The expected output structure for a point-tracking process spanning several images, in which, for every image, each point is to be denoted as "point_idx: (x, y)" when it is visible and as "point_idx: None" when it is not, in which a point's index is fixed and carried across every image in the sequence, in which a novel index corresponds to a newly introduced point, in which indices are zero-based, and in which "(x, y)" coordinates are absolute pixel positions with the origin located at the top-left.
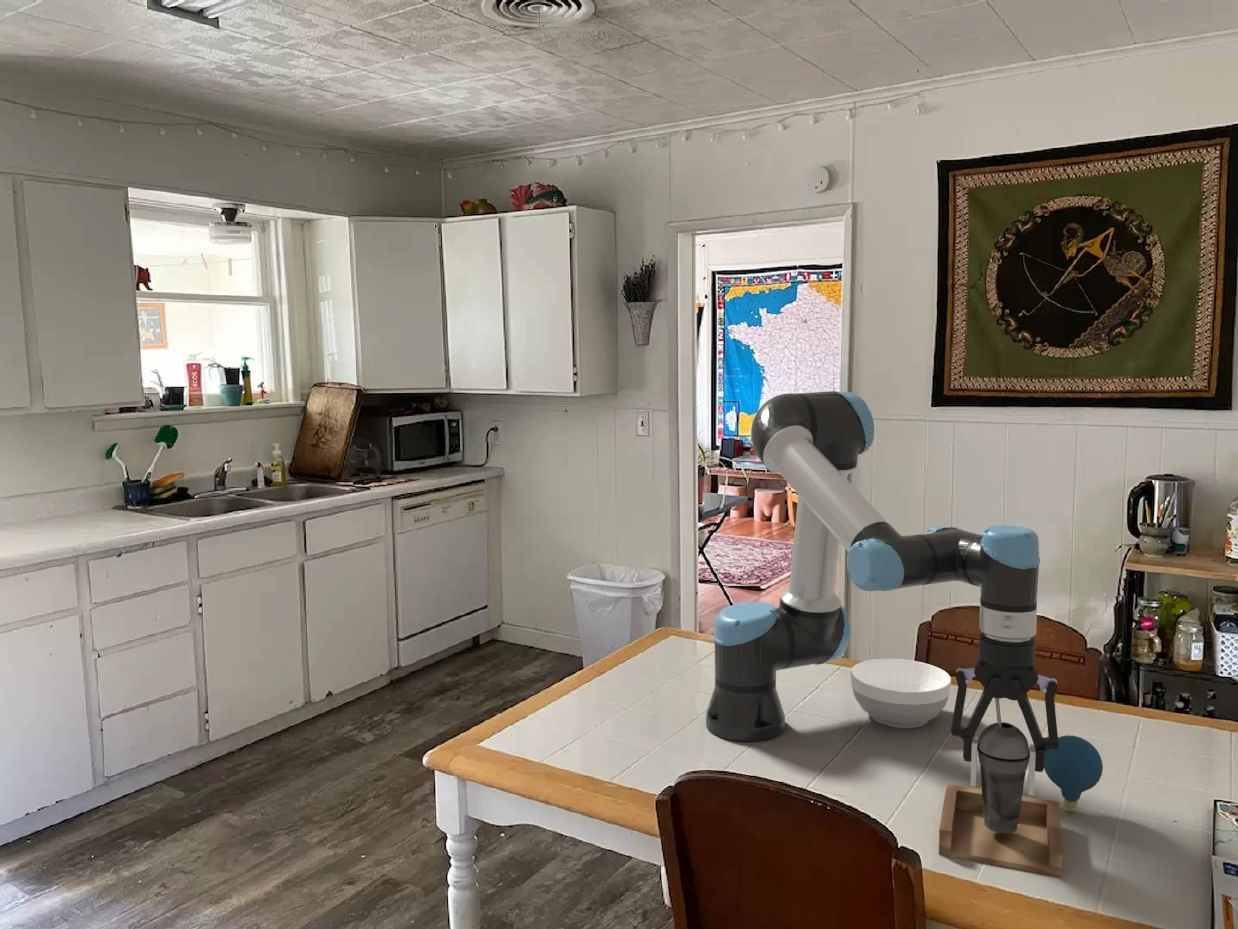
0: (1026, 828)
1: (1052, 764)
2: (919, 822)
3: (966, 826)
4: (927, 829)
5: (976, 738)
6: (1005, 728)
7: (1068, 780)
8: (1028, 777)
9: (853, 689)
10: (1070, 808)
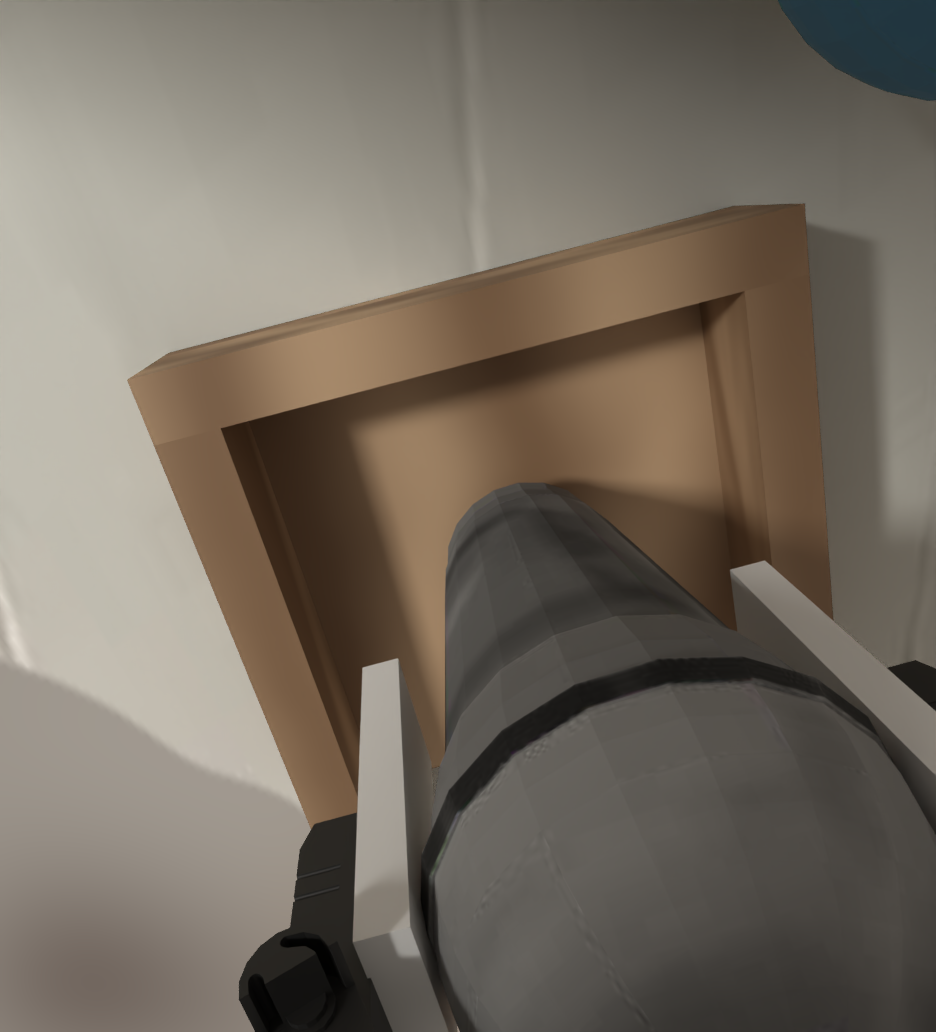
0: (614, 401)
1: (884, 43)
2: (139, 589)
3: (358, 554)
4: (202, 627)
5: (408, 965)
6: None
7: None
8: (770, 634)
9: None
10: None
